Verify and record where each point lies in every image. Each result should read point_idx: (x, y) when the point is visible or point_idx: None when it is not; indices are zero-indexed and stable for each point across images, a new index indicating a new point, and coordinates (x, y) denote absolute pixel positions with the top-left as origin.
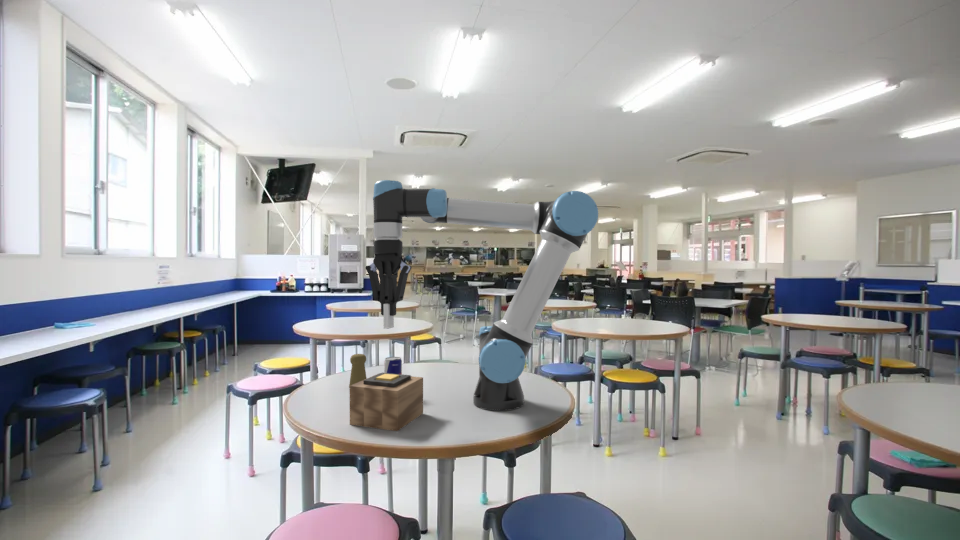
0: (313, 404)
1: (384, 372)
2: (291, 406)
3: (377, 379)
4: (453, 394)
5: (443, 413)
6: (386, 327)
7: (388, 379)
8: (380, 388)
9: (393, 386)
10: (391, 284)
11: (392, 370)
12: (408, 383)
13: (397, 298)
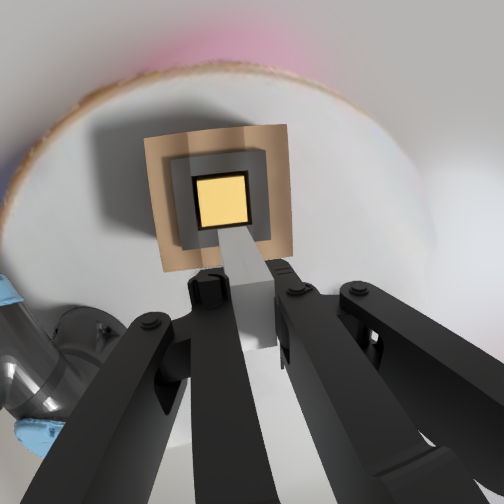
0: (394, 196)
1: None
2: (417, 173)
3: (238, 176)
4: None
5: (138, 260)
6: (229, 229)
7: (203, 180)
8: (196, 136)
9: (171, 159)
10: (207, 430)
11: None
12: (159, 207)
13: (138, 326)
